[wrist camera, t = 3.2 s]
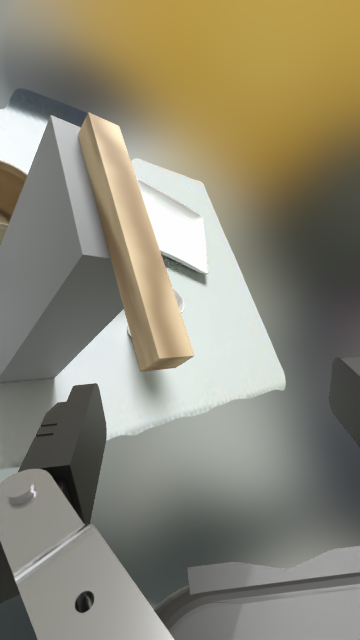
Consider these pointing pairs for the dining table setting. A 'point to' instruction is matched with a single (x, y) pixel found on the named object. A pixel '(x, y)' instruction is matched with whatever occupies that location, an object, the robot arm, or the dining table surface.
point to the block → (133, 250)
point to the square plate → (176, 228)
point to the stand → (54, 264)
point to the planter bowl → (9, 193)
